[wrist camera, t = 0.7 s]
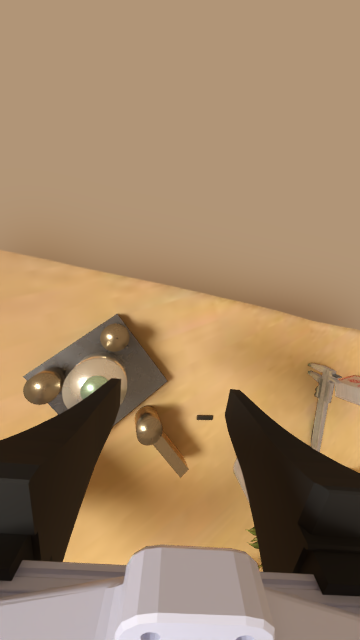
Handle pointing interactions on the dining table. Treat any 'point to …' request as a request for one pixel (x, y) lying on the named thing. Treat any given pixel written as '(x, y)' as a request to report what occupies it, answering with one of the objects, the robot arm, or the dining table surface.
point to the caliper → (322, 399)
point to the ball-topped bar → (158, 438)
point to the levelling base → (129, 355)
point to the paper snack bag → (349, 389)
